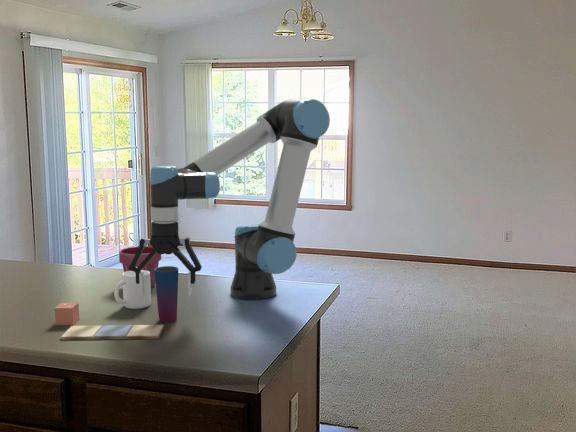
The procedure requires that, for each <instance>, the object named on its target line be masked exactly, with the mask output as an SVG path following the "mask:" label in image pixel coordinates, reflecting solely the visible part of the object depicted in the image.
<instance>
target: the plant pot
mask: <svg viewBox="0 0 576 432" xmlns="http://www.w3.org/2000/svg"><path fill="white" fill-rule="evenodd" d="M138 248H139V246H132V247H126V248H122V249H120V250H119V251H118V259H119V263H120V264H121V266H122V269H123V273H124V272H127V271H130V270H129V266H130V264H131V262H132V260H133V258H134V256H135V254H136V252H137V250H138ZM153 249H154V248H153V247H152V246H151V245H150V246H148V245H147V246H145V247H144V249H143V252H142V254H141V256H140V258H139V260H138V262H137V264H136V267H138V266H139V265H140V264H141V263H142V262H143V260H144V259H145V258H146V257H147V256H148V255H149V253H150V252H151V251H152V250H153ZM161 260H162V254H158V253H157V252H156V253H155V254H154V255H153V256H152V258H151V259H150V260H149V261H148V262H147V264H146V265H145V266H144V267H143V268H142V269H141V270H146V271H149V272H150V287H151V288H153V287H156V284H155V274H154V269H155V268H158V267H159V263H160V261H161Z"/></svg>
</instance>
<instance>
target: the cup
mask: <svg viewBox="0 0 576 432" xmlns="http://www.w3.org/2000/svg"><path fill="white" fill-rule="evenodd" d="M154 274H155V292H156V294H155V295H156V302H157V311H158V312H157V313H158V320H159V322H161V323H172V322H175V321H177V320H178V299H179V298H178V297H179V295H178V294H179V293H178V292H179V267H177V266H175V265H170V266H169V265H165V266H158V268H155V269H154Z"/></svg>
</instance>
